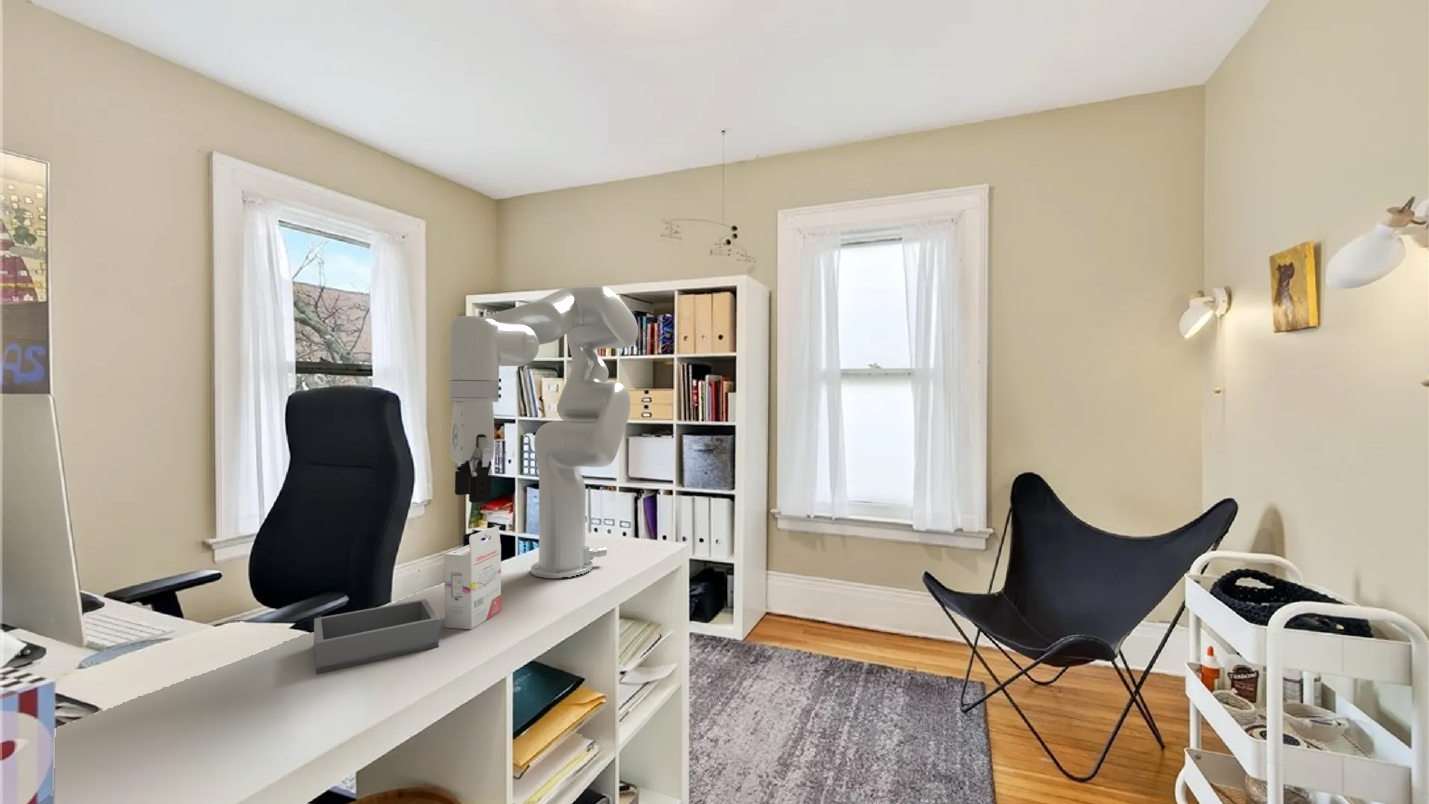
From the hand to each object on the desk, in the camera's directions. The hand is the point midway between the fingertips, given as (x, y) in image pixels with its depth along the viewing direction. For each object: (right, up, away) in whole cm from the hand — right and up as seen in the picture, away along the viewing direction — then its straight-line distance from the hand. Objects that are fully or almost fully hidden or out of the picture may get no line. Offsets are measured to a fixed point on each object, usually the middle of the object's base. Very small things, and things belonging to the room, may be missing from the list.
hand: (472, 497), depth 93 cm
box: (-10, -20, -10) cm, 24 cm away
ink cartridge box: (0, -20, 0) cm, 20 cm away
